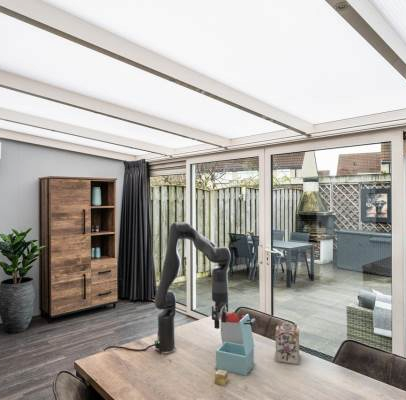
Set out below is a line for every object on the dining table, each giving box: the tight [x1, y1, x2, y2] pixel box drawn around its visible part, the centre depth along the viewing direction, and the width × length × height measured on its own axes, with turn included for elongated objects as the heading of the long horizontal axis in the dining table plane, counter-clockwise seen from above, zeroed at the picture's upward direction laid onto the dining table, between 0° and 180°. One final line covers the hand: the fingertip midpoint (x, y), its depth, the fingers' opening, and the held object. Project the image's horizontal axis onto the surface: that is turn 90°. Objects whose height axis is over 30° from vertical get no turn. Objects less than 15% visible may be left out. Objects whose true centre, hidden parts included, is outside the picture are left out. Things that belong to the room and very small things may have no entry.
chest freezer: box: [215, 342, 255, 376], centre depth 166 cm, size 16×13×9 cm
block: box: [214, 369, 229, 386], centre depth 152 cm, size 4×4×4 cm
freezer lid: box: [239, 313, 257, 356], centre depth 162 cm, size 16×13×5 cm
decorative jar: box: [274, 322, 300, 365], centre depth 174 cm, size 12×12×18 cm
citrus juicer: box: [219, 311, 246, 345], centre depth 190 cm, size 16×17×20 cm
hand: (220, 325), depth 152 cm, fingers open, 8 cm apart
